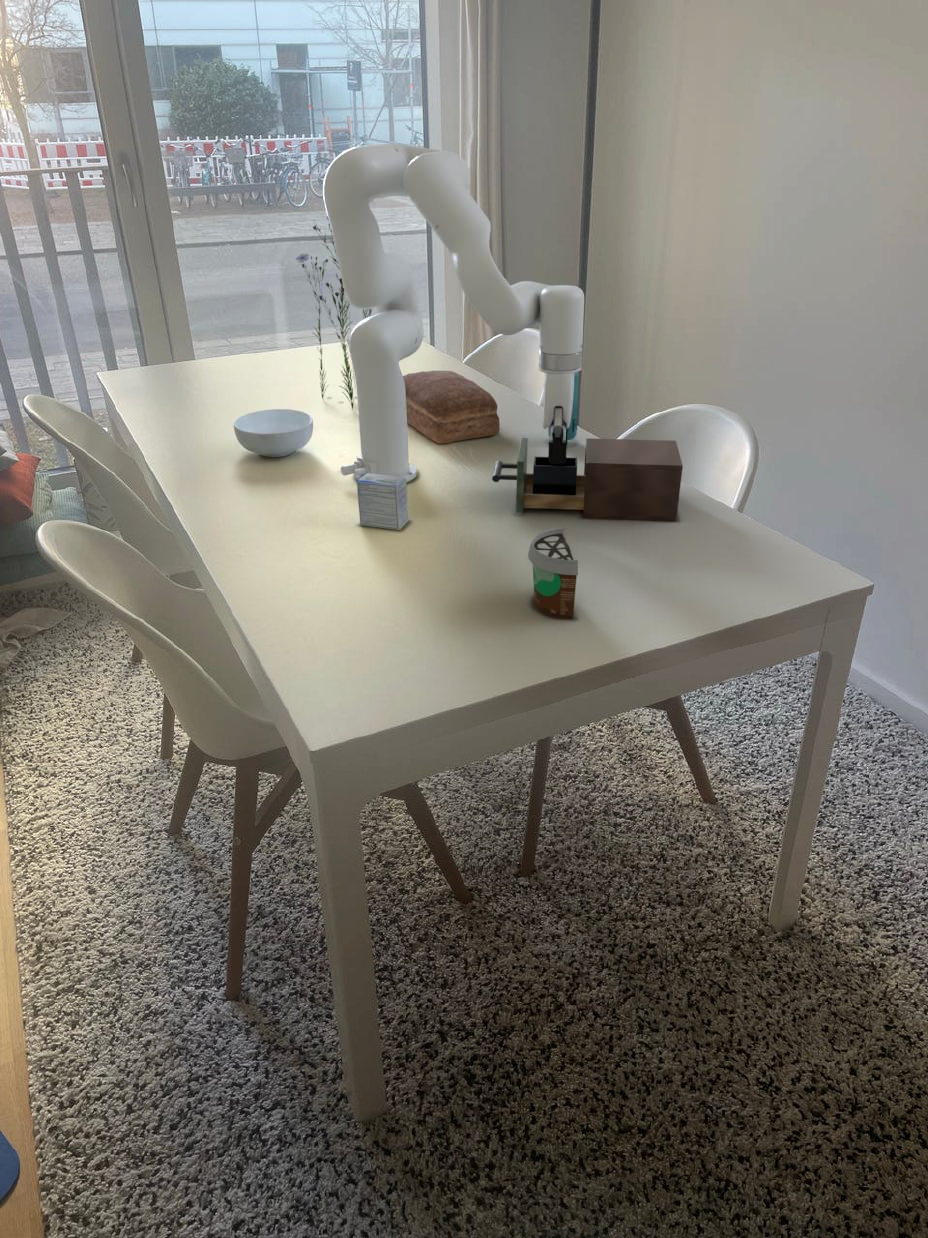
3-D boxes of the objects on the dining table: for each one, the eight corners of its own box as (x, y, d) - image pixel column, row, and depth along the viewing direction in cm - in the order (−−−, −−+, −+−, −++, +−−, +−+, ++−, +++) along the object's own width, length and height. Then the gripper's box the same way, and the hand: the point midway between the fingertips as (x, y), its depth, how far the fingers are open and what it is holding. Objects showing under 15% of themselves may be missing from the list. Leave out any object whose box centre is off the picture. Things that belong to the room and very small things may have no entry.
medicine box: (409, 521, 165) (407, 476, 161) (399, 531, 161) (397, 485, 157) (369, 516, 167) (366, 472, 163) (359, 525, 163) (356, 480, 159)
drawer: (490, 511, 167) (490, 460, 162) (496, 485, 179) (496, 437, 174) (608, 515, 165) (612, 464, 160) (606, 488, 176) (610, 440, 171)
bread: (449, 403, 230) (448, 357, 224) (503, 436, 207) (504, 386, 201) (387, 412, 223) (384, 365, 218) (435, 447, 200) (434, 396, 195)
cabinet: (583, 518, 166) (586, 462, 160) (583, 490, 177) (586, 438, 172) (676, 521, 164) (682, 465, 159) (670, 493, 176) (675, 440, 170)
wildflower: (311, 393, 239) (293, 206, 217) (397, 389, 241) (388, 204, 219) (307, 418, 220) (287, 217, 197) (401, 414, 222) (392, 214, 199)
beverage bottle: (575, 447, 199) (579, 355, 189) (545, 446, 200) (548, 354, 190) (577, 438, 205) (582, 348, 195) (548, 436, 206) (551, 347, 196)
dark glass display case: (532, 498, 169) (533, 465, 166) (533, 488, 174) (534, 456, 170) (575, 500, 169) (577, 466, 165) (575, 490, 173) (577, 457, 170)
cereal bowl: (222, 459, 195) (217, 427, 192) (264, 435, 209) (261, 405, 205) (290, 468, 190) (286, 435, 186) (329, 444, 203) (326, 413, 199)
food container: (521, 586, 142) (522, 528, 137) (560, 584, 143) (562, 526, 138) (533, 625, 132) (535, 563, 127) (574, 623, 132) (578, 561, 127)
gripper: (540, 349, 167) (539, 439, 175) (536, 373, 152) (535, 470, 160) (581, 349, 166) (578, 439, 174) (581, 373, 151) (578, 471, 159)
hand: (557, 454), depth 167 cm, fingers open, 9 cm apart
